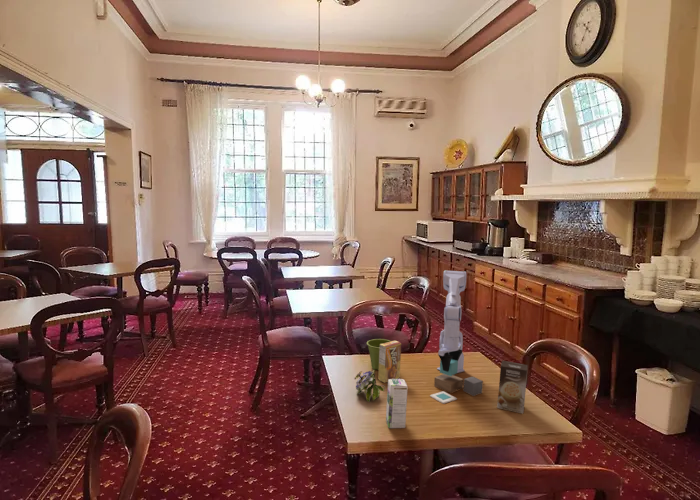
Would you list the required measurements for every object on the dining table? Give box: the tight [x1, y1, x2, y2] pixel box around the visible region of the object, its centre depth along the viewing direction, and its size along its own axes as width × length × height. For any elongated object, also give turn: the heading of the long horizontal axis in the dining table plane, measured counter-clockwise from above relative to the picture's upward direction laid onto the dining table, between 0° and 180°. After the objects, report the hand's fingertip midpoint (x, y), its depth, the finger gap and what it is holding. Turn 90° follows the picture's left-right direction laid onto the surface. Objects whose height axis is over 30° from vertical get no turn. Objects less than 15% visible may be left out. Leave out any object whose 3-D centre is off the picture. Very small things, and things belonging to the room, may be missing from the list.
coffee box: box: [496, 359, 529, 414], centre depth 158 cm, size 9×6×16 cm
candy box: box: [377, 340, 402, 383], centre depth 180 cm, size 9×4×15 cm, turn 129°
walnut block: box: [433, 373, 464, 394], centre depth 175 cm, size 8×8×4 cm
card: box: [429, 390, 458, 405], centre depth 165 cm, size 7×7×1 cm
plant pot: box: [366, 338, 392, 371], centre depth 192 cm, size 12×12×11 cm
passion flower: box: [354, 369, 386, 403], centre depth 165 cm, size 11×11×12 cm
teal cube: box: [439, 359, 458, 376], centre depth 174 cm, size 5×5×5 cm
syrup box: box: [385, 378, 409, 429], centre depth 144 cm, size 6×6×14 cm
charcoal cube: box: [462, 376, 484, 397], centre depth 171 cm, size 5×5×5 cm
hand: (449, 369), depth 174 cm, fingers closed on teal cube, 5 cm apart
